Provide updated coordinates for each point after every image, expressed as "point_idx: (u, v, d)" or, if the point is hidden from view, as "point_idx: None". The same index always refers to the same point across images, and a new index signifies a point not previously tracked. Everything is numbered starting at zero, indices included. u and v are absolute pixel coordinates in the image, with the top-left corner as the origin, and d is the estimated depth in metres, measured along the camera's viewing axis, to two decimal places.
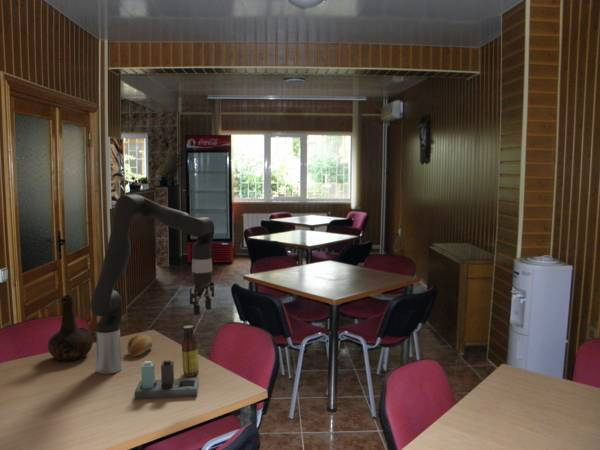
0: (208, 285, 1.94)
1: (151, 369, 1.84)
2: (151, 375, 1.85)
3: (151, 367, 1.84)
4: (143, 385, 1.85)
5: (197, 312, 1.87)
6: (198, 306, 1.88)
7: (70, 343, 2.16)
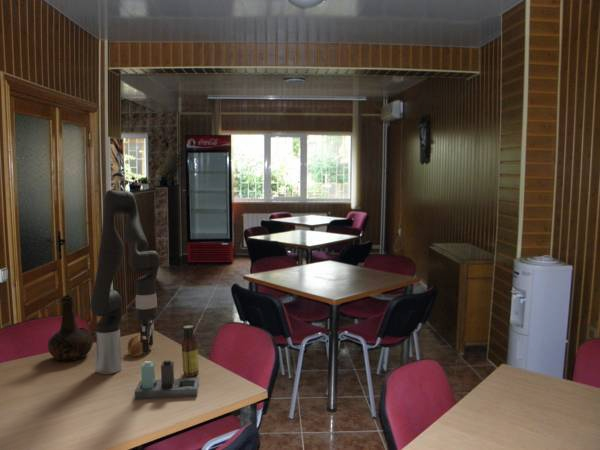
0: None
1: (151, 369, 1.84)
2: (151, 375, 1.85)
3: (151, 367, 1.84)
4: (143, 385, 1.85)
5: None
6: None
7: (70, 343, 2.16)
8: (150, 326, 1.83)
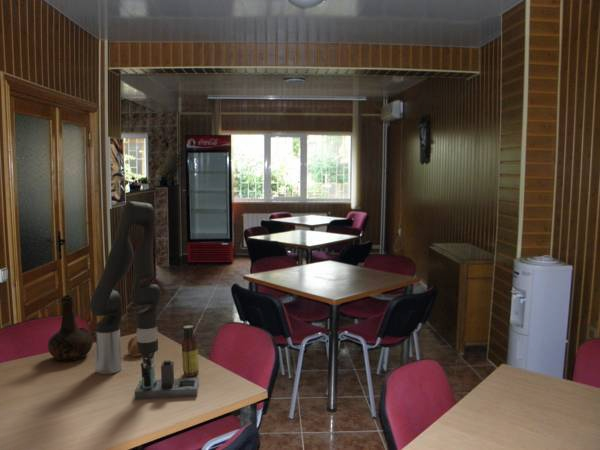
0: None
1: None
2: (151, 375, 1.85)
3: None
4: (143, 385, 1.85)
5: None
6: None
7: (70, 343, 2.16)
8: (151, 360, 1.84)
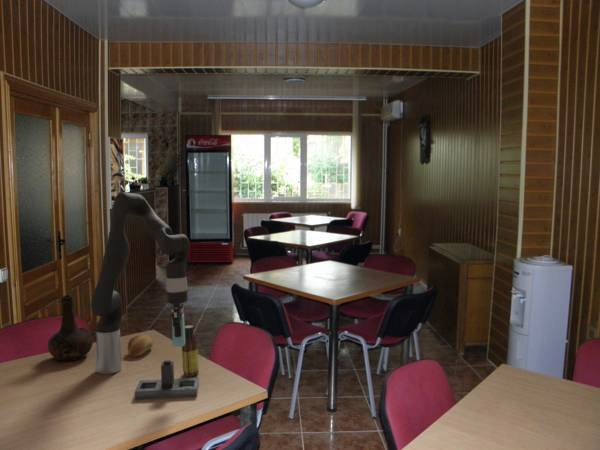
0: None
1: None
2: (181, 325, 1.84)
3: None
4: (174, 336, 1.84)
5: None
6: None
7: (70, 343, 2.16)
8: (181, 310, 1.83)
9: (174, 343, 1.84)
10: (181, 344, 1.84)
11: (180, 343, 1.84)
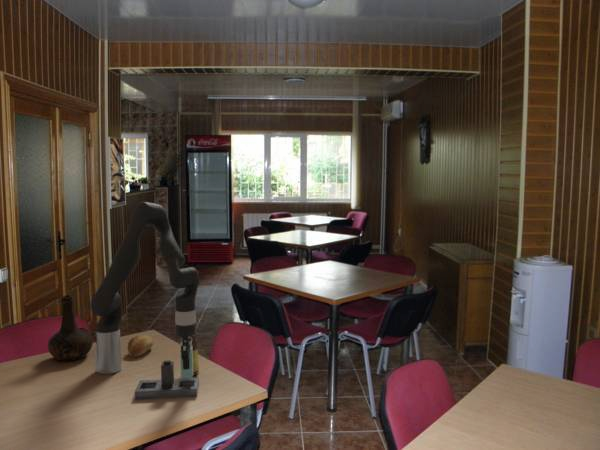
0: (182, 340, 1.84)
1: (190, 352, 1.86)
2: (190, 358, 1.86)
3: None
4: (182, 368, 1.86)
5: None
6: None
7: (70, 343, 2.16)
8: (190, 343, 1.85)
9: (182, 375, 1.86)
10: (189, 376, 1.86)
11: (188, 375, 1.86)
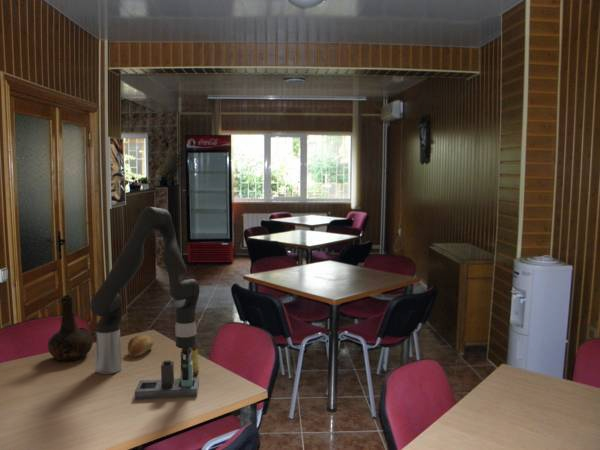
0: (182, 352, 1.84)
1: (190, 367, 1.86)
2: (190, 373, 1.86)
3: (190, 365, 1.86)
4: (182, 383, 1.86)
5: None
6: None
7: (70, 343, 2.16)
8: (190, 354, 1.86)
9: None
10: None
11: None
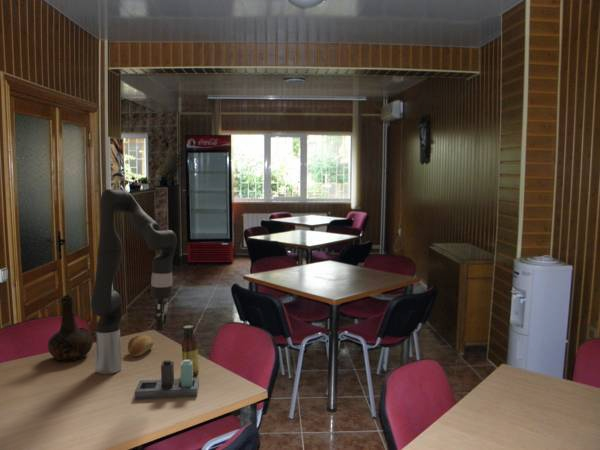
0: None
1: (190, 367, 1.86)
2: (190, 373, 1.86)
3: (190, 365, 1.86)
4: (182, 383, 1.86)
5: None
6: None
7: (70, 343, 2.16)
8: (165, 304, 1.86)
9: None
10: None
11: None
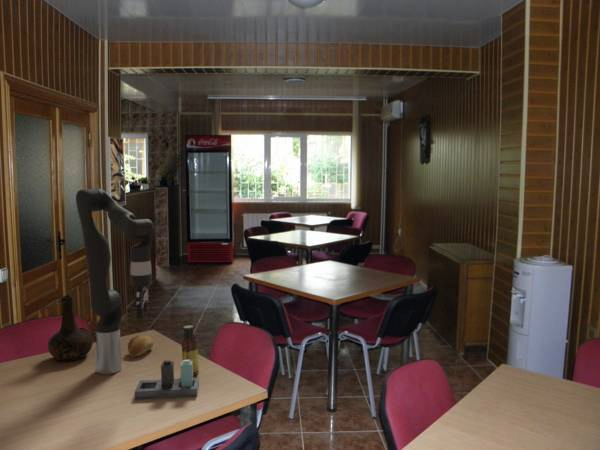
0: None
1: (190, 367, 1.86)
2: (190, 373, 1.86)
3: (190, 365, 1.86)
4: (182, 383, 1.86)
5: None
6: None
7: (70, 343, 2.16)
8: (144, 293, 1.87)
9: None
10: None
11: None
